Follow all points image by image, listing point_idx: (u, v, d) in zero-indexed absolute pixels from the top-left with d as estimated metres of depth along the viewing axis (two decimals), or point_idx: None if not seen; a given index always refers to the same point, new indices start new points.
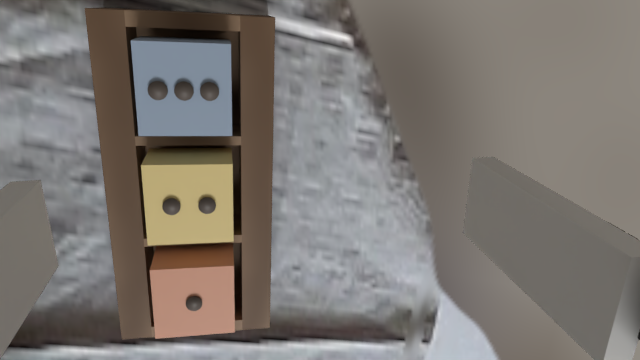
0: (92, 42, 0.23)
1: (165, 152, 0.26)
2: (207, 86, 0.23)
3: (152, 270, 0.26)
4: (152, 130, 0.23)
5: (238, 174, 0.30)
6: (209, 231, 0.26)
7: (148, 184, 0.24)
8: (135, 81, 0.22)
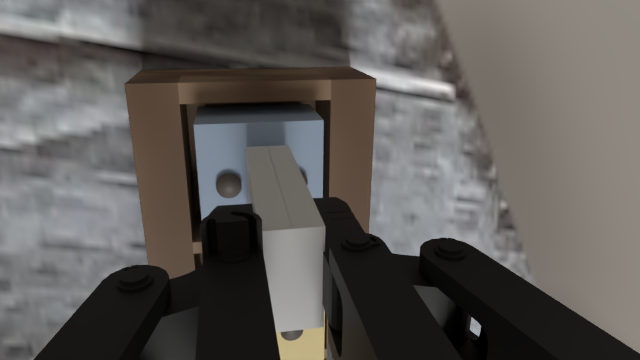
0: (135, 128, 0.17)
1: None
2: None
3: None
4: None
5: None
6: None
7: None
8: (199, 176, 0.17)
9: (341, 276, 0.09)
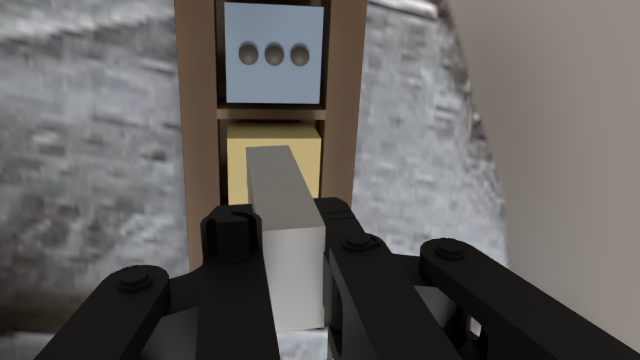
0: (178, 6, 0.22)
1: (246, 126, 0.24)
2: (298, 51, 0.22)
3: None
4: (240, 96, 0.23)
5: None
6: None
7: (233, 159, 0.23)
8: (226, 45, 0.22)
9: (341, 276, 0.09)
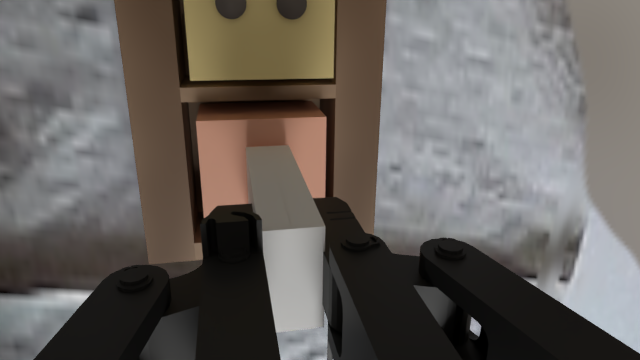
0: None
1: None
2: None
3: (200, 122, 0.16)
4: None
5: None
6: (294, 56, 0.15)
7: None
8: None
9: (341, 276, 0.09)
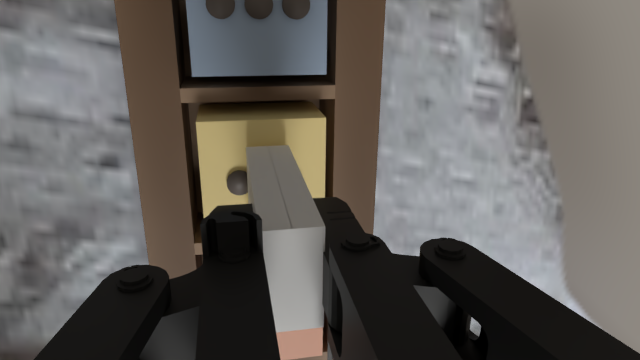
0: None
1: (223, 108, 0.18)
2: None
3: None
4: (212, 67, 0.16)
5: None
6: None
7: (206, 150, 0.16)
8: None
9: (341, 276, 0.09)
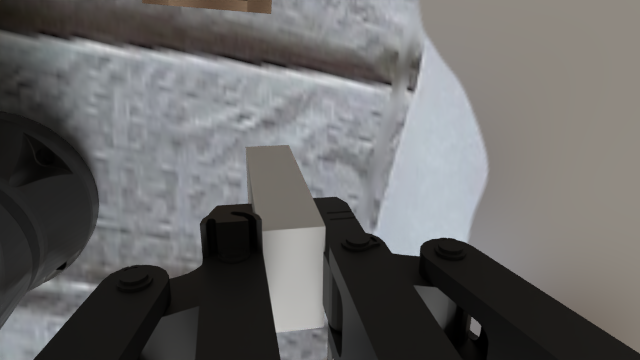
0: None
1: None
2: None
3: None
4: None
5: None
6: None
7: None
8: None
9: (341, 276, 0.09)
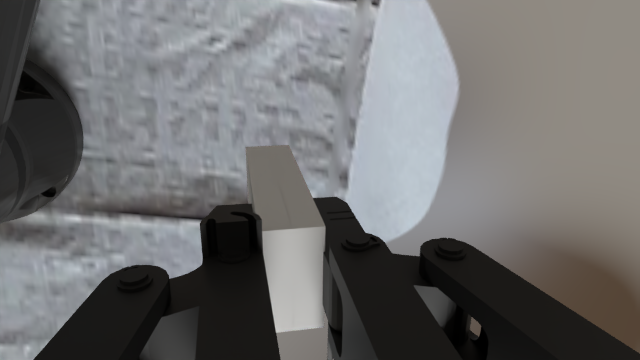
0: None
1: None
2: None
3: None
4: None
5: None
6: None
7: None
8: None
9: (341, 276, 0.09)
